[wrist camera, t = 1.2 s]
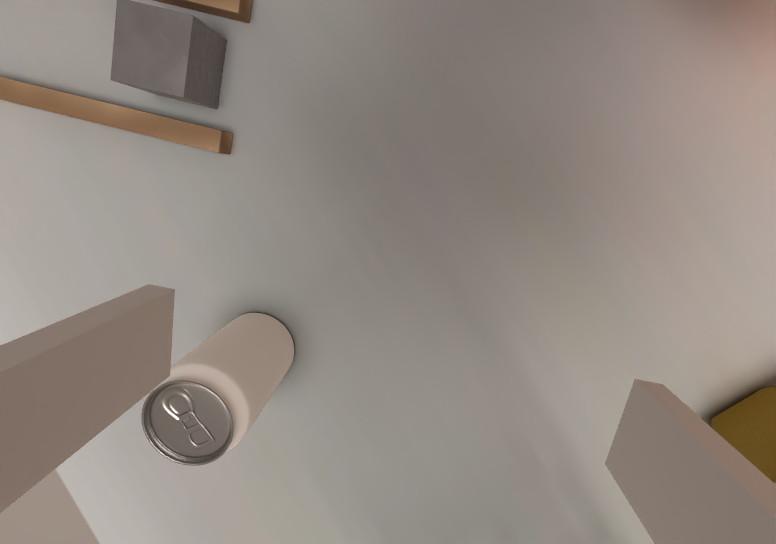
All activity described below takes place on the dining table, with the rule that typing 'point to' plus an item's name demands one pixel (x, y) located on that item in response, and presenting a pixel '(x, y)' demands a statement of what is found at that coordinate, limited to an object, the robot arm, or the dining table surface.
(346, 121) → the dining table surface
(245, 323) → the can
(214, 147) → the oak track
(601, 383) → the dining table surface
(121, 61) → the block
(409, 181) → the dining table surface
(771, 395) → the flower pot
